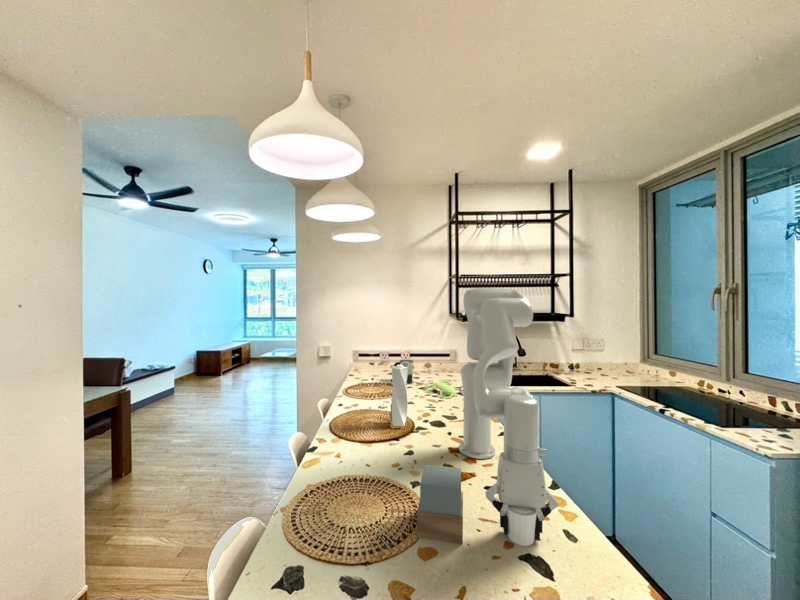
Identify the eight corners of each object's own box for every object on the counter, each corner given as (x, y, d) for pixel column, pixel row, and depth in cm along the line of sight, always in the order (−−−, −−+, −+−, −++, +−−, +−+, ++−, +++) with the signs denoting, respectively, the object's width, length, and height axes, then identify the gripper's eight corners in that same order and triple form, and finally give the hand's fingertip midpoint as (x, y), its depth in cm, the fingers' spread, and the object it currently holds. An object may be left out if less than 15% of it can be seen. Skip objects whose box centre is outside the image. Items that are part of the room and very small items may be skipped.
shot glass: (529, 526, 76) (529, 496, 76) (542, 548, 69) (543, 515, 69) (500, 526, 76) (500, 496, 76) (511, 548, 69) (511, 515, 69)
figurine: (445, 386, 211) (445, 377, 211) (470, 396, 187) (470, 387, 187) (420, 389, 203) (420, 380, 203) (444, 400, 179) (444, 390, 179)
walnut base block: (422, 510, 82) (422, 486, 82) (462, 516, 80) (462, 491, 80) (417, 538, 72) (417, 511, 72) (462, 545, 70) (462, 517, 70)
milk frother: (413, 381, 222) (413, 359, 222) (412, 387, 206) (412, 363, 207) (392, 380, 223) (393, 359, 224) (390, 386, 208) (390, 363, 208)
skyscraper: (408, 423, 143) (409, 360, 143) (408, 430, 135) (409, 363, 135) (390, 422, 143) (390, 359, 144) (388, 429, 135) (389, 362, 136)
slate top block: (424, 488, 81) (424, 464, 81) (460, 492, 79) (460, 468, 79) (420, 510, 72) (420, 483, 72) (460, 516, 71) (461, 488, 71)
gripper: (557, 448, 75) (557, 527, 74) (480, 441, 78) (480, 516, 78) (567, 464, 67) (567, 551, 67) (482, 455, 71) (482, 538, 70)
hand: (520, 531), depth 72 cm, fingers closed on shot glass, 6 cm apart
